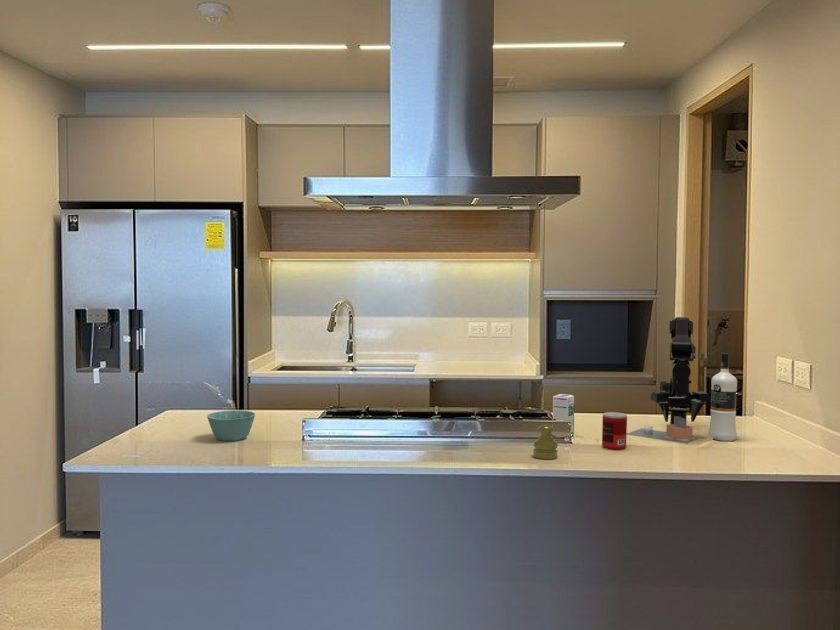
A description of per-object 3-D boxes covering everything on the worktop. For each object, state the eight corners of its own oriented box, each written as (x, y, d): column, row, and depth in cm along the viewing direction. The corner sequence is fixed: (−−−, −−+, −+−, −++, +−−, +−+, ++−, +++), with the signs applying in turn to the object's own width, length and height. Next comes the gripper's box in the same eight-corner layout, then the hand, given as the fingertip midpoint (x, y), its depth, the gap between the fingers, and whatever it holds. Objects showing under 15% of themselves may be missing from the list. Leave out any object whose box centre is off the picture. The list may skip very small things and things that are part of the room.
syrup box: (567, 438, 256) (568, 396, 255) (551, 436, 259) (552, 395, 259) (574, 436, 261) (575, 394, 260) (558, 433, 264) (559, 393, 263)
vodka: (742, 440, 257) (745, 354, 255) (722, 442, 253) (725, 354, 252) (722, 435, 265) (725, 351, 264) (702, 437, 262) (705, 352, 260)
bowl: (220, 446, 238) (220, 420, 238) (199, 437, 250) (198, 413, 250) (263, 439, 248) (264, 415, 248) (241, 431, 260) (241, 408, 260)
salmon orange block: (684, 435, 258) (684, 415, 258) (692, 439, 252) (692, 419, 251) (666, 435, 258) (666, 415, 257) (674, 439, 251) (674, 419, 251)
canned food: (628, 446, 245) (628, 413, 245) (623, 451, 238) (624, 417, 238) (604, 443, 249) (605, 411, 248) (599, 448, 241) (600, 415, 241)
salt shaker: (531, 453, 233) (532, 422, 232) (555, 454, 233) (556, 422, 232) (534, 459, 226) (535, 426, 225) (559, 460, 225) (559, 427, 225)
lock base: (641, 431, 271) (641, 421, 271) (702, 440, 257) (702, 430, 257) (624, 437, 260) (625, 427, 260) (687, 446, 246) (687, 436, 246)
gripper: (696, 373, 263) (694, 417, 263) (645, 373, 261) (643, 417, 262) (711, 377, 252) (709, 423, 252) (658, 377, 250) (656, 423, 251)
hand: (679, 421), depth 255 cm, fingers open, 9 cm apart
